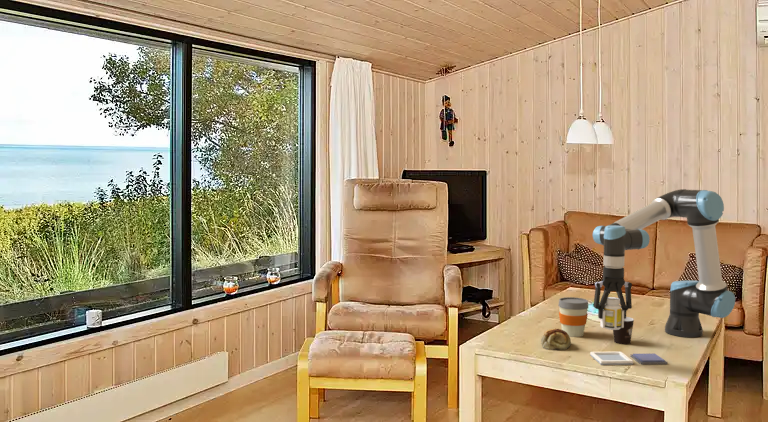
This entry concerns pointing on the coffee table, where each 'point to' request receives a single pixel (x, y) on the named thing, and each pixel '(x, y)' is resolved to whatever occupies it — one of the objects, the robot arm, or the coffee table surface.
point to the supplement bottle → (612, 313)
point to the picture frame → (611, 358)
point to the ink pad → (648, 359)
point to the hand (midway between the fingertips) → (611, 326)
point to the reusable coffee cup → (573, 315)
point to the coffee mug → (624, 332)
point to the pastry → (555, 340)
